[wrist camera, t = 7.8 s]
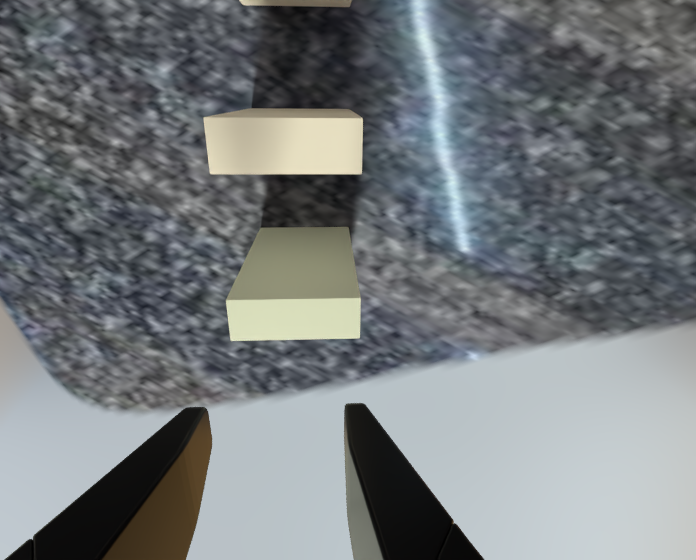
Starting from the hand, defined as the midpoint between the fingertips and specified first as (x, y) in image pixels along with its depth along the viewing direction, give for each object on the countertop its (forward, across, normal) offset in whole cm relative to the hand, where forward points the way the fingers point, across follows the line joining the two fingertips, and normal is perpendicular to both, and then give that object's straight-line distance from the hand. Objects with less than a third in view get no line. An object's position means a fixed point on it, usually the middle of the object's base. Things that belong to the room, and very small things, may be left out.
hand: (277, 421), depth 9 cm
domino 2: (+12, 0, 0) cm, 12 cm away
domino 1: (+12, 0, -5) cm, 13 cm away
